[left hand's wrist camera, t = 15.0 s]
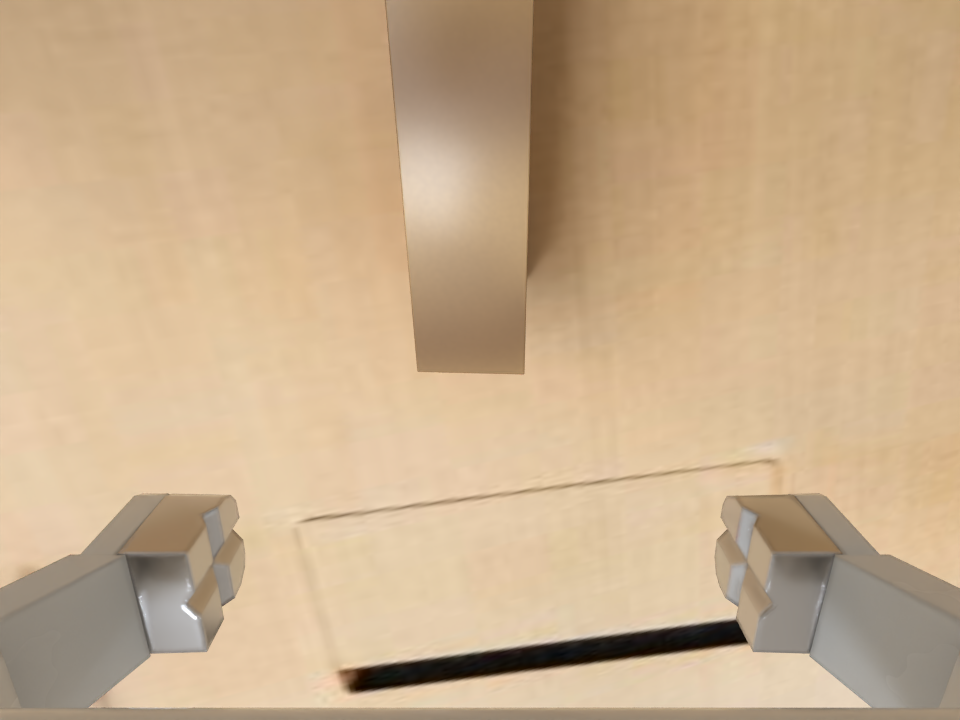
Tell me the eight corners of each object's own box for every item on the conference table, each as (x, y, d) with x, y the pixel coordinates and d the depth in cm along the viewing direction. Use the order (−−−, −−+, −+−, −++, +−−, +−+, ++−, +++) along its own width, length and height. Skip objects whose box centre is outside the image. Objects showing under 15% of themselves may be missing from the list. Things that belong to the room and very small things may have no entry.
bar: (526, 284, 36) (524, 374, 28) (441, 282, 36) (417, 372, 28) (542, -361, 22) (547, -526, 14) (406, -353, 22) (339, -511, 15)
